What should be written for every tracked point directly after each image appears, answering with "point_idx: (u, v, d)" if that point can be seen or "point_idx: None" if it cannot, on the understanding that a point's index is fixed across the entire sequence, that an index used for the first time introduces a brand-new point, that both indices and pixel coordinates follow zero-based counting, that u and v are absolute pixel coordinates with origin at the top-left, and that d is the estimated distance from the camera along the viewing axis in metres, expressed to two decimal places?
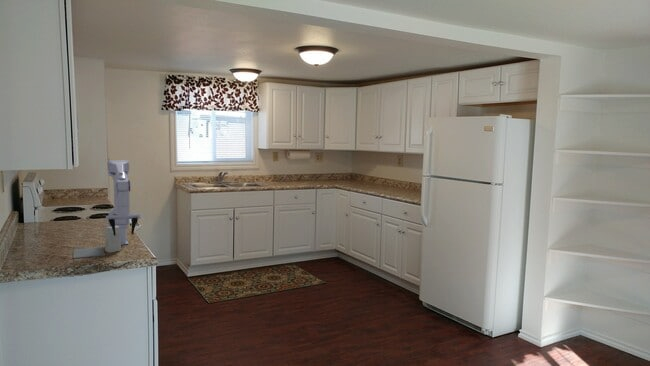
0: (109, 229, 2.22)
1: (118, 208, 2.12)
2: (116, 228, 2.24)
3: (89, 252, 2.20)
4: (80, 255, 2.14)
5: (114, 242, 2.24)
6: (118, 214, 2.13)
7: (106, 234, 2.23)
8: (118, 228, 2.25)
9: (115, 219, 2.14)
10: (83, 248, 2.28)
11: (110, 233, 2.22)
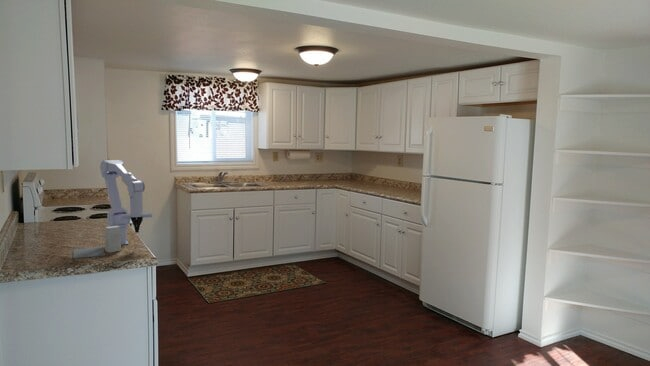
0: (109, 229, 2.22)
1: (132, 207, 2.26)
2: (116, 228, 2.24)
3: (89, 252, 2.20)
4: (80, 255, 2.14)
5: (114, 242, 2.24)
6: (132, 213, 2.27)
7: (106, 234, 2.23)
8: (118, 228, 2.25)
9: (129, 218, 2.28)
10: (83, 248, 2.28)
11: (110, 233, 2.22)
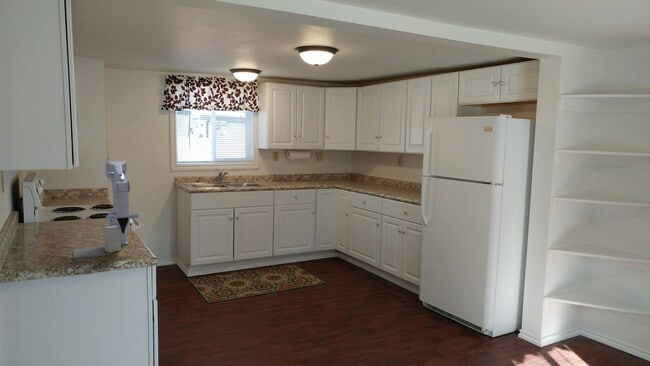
0: (108, 229, 2.21)
1: (118, 208, 2.23)
2: (115, 228, 2.24)
3: (89, 252, 2.20)
4: (80, 255, 2.14)
5: (114, 242, 2.24)
6: (118, 214, 2.24)
7: (105, 234, 2.23)
8: (117, 228, 2.25)
9: (115, 218, 2.25)
10: (83, 248, 2.28)
11: (110, 233, 2.22)
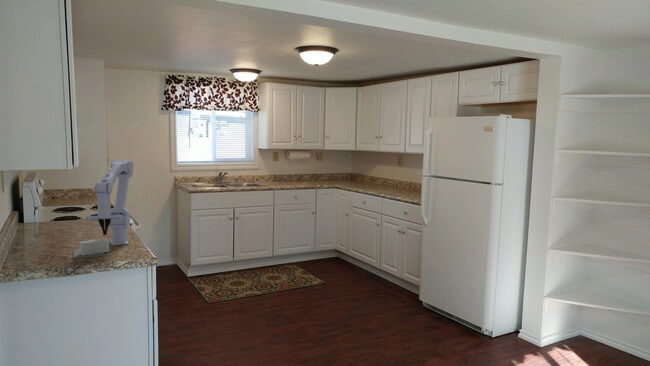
0: (84, 254, 2.14)
1: (99, 209, 2.20)
2: (84, 247, 2.14)
3: None
4: (80, 255, 2.14)
5: (99, 247, 2.19)
6: (99, 215, 2.20)
7: None
8: (84, 245, 2.14)
9: (96, 219, 2.21)
10: None
11: (88, 252, 2.15)
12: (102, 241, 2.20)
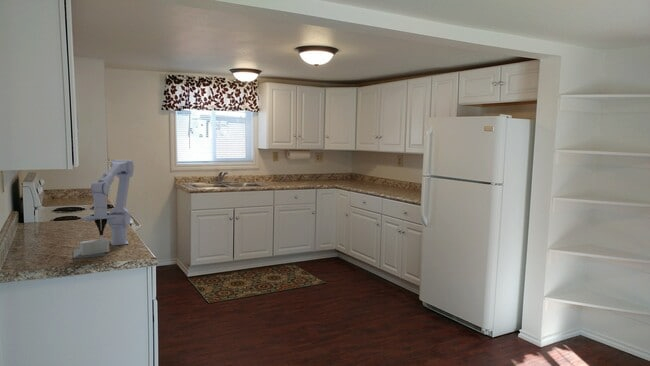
0: (84, 254, 2.14)
1: (95, 209, 2.19)
2: (84, 247, 2.14)
3: None
4: (80, 255, 2.14)
5: (99, 247, 2.19)
6: (95, 215, 2.19)
7: None
8: (84, 245, 2.14)
9: None
10: None
11: (88, 252, 2.15)
12: (102, 241, 2.20)
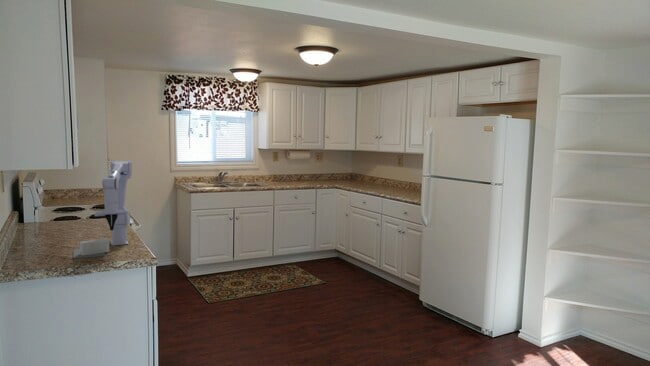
0: (84, 254, 2.14)
1: (106, 204, 2.22)
2: (84, 247, 2.14)
3: None
4: (80, 255, 2.14)
5: (99, 247, 2.19)
6: (106, 210, 2.22)
7: None
8: (84, 245, 2.14)
9: (103, 215, 2.23)
10: None
11: (88, 252, 2.15)
12: (102, 241, 2.20)
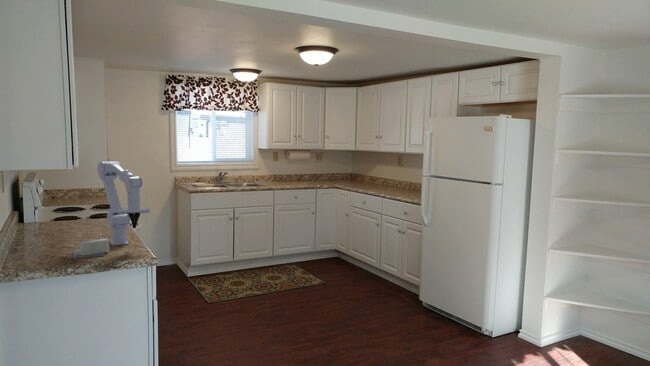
0: (84, 254, 2.14)
1: (129, 203, 2.27)
2: (84, 247, 2.14)
3: None
4: (80, 255, 2.14)
5: (99, 247, 2.19)
6: (129, 208, 2.28)
7: None
8: (84, 245, 2.14)
9: (126, 213, 2.29)
10: None
11: (88, 252, 2.15)
12: (102, 241, 2.20)
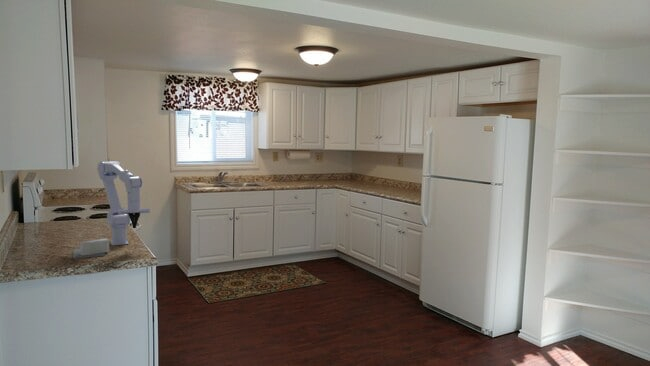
0: (84, 254, 2.14)
1: (129, 203, 2.27)
2: (84, 247, 2.14)
3: None
4: (80, 255, 2.14)
5: (99, 247, 2.19)
6: (129, 208, 2.28)
7: None
8: (84, 245, 2.14)
9: (126, 213, 2.29)
10: None
11: (88, 252, 2.15)
12: (102, 241, 2.20)
